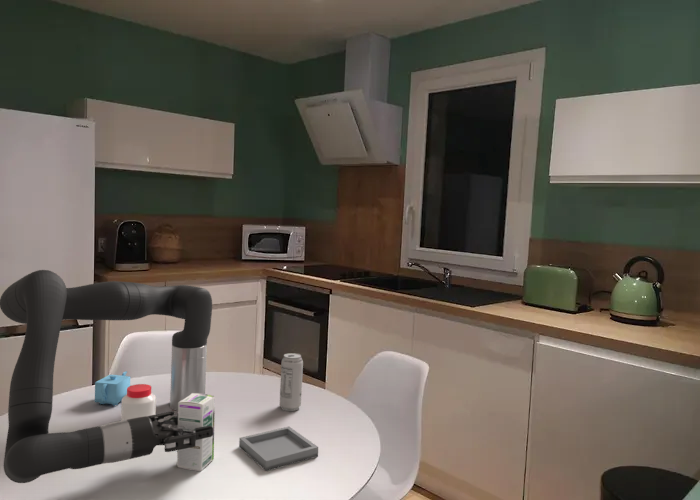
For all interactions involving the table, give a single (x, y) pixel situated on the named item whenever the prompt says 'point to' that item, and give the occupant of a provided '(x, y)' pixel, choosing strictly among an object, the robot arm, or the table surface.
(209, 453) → the syrup box
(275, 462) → the tray
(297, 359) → the energy drink can
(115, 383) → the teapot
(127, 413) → the pill bottle
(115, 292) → the robot arm
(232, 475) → the table surface
